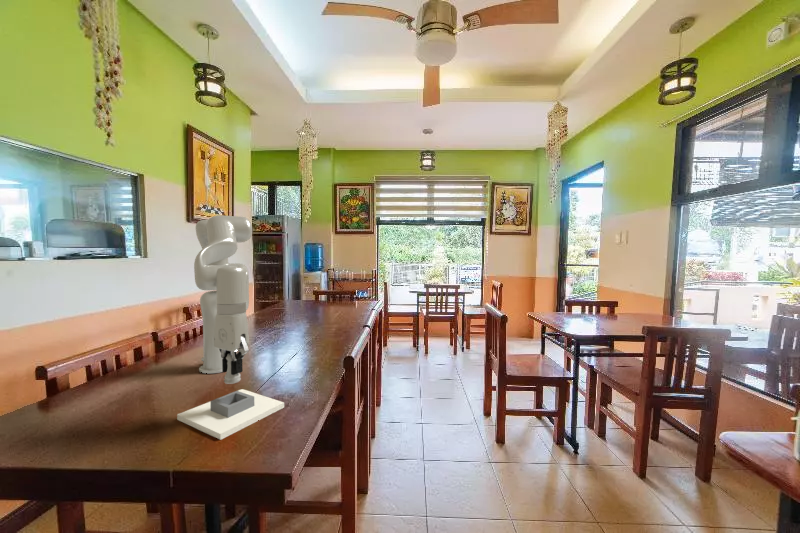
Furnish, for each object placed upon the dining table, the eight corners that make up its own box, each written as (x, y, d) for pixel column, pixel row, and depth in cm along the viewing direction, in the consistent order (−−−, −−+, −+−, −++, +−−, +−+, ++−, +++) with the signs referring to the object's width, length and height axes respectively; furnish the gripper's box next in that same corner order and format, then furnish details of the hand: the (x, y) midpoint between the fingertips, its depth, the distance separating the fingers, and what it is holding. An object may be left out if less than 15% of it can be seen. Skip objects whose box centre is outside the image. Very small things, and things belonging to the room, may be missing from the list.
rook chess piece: (244, 379, 96) (244, 352, 96) (232, 385, 92) (231, 357, 91) (232, 377, 97) (232, 351, 97) (220, 383, 93) (219, 355, 93)
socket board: (177, 419, 91) (177, 404, 91) (242, 393, 109) (242, 380, 108) (220, 439, 81) (220, 423, 81) (284, 407, 99) (284, 393, 99)
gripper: (202, 308, 95) (202, 371, 95) (237, 313, 87) (238, 381, 87) (226, 305, 101) (227, 363, 102) (261, 309, 93) (262, 373, 94)
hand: (232, 371), depth 95 cm, fingers closed on rook chess piece, 3 cm apart
